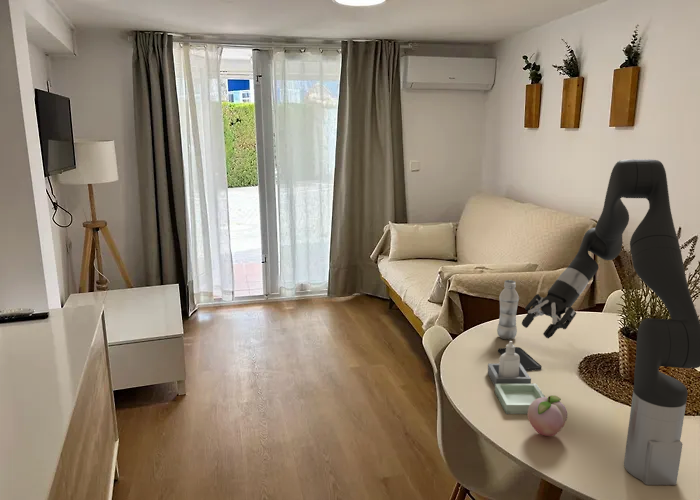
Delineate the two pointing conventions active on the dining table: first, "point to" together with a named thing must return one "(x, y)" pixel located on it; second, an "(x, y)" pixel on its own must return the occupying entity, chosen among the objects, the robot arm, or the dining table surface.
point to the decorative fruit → (547, 415)
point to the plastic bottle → (508, 311)
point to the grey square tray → (522, 379)
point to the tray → (517, 397)
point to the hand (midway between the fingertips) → (534, 331)
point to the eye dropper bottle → (509, 362)
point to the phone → (524, 359)
